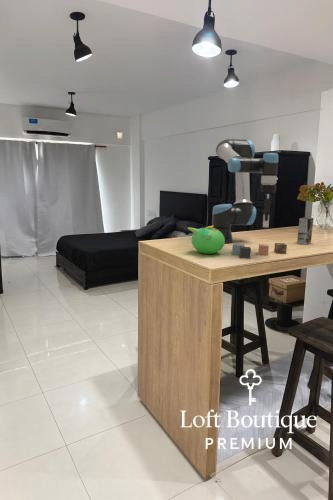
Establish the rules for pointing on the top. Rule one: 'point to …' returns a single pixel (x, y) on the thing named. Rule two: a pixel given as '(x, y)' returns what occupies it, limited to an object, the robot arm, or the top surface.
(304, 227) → the coffee box
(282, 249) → the walnut cube
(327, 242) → the top surface
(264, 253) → the terracotta cube
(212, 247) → the toy bird
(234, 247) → the slate grey cube
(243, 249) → the black rubber cube
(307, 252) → the top surface
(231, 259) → the top surface
